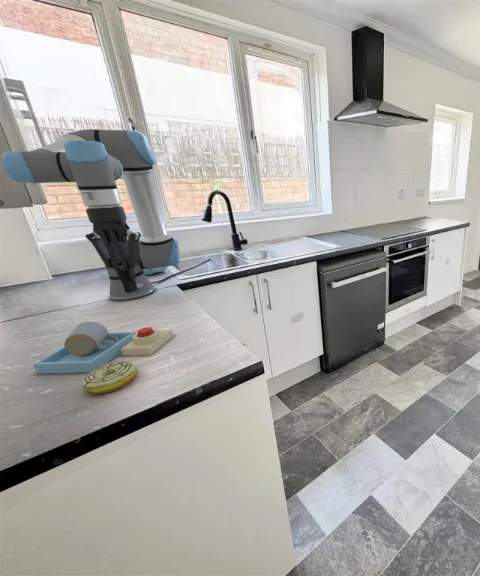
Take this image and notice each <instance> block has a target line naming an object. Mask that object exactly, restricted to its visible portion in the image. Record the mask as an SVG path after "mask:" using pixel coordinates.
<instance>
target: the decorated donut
mask: <svg viewBox="0 0 480 576" xmlns="http://www.w3.org/2000/svg"><path fill="white" fill-rule="evenodd" d="M137 369H138V366H137V364H136V363H135V362H132V361H120V360H119V361H113V362H108V363H106V364H104V365H103V366H101V367H99V368H97V369H96V370H94V371H92V372H88V374H87V375H86V376H85V377H83V379H82V380H81V386H82V389H83V390H85V391H86V392H87V393H91V394H95V395H101V394H106V393H111V392H113V391H117V390H120V389H122V388H124V387H126V385H128V384H129V383H130V382H131V381H133V380H134V379H135V377H136V375H137Z"/></svg>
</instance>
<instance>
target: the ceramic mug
mask: <svg viewBox="0 0 480 576" xmlns="http://www.w3.org/2000/svg"><path fill="white" fill-rule="evenodd" d="M108 333H109V331H108V329H107V327H106V326H105V325H103V324H102V323H99V322H96V321H84V322H81V323H79V324H77V325H76V326H75V328H74V329H73V330H72V331H71V332H70V334H69V335H68V336H67V337H66V338H65V341H64V344H63V347H64V346H65V349H66V350H67V351H68V352H69V353H71V354H73V355H77V356H85V355H89V354H91V353H92V352H94V351H95V350H96V349H108V348H110V347H111V346H113V345H114V344H116V343H117V342H119V339H118V338H117V337H115V336H113V335H109V334H108ZM106 339H110V340H113V341H115V342H116V343H114V344H110V345H102V343H103V342H104V341H105V340H106Z"/></svg>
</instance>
